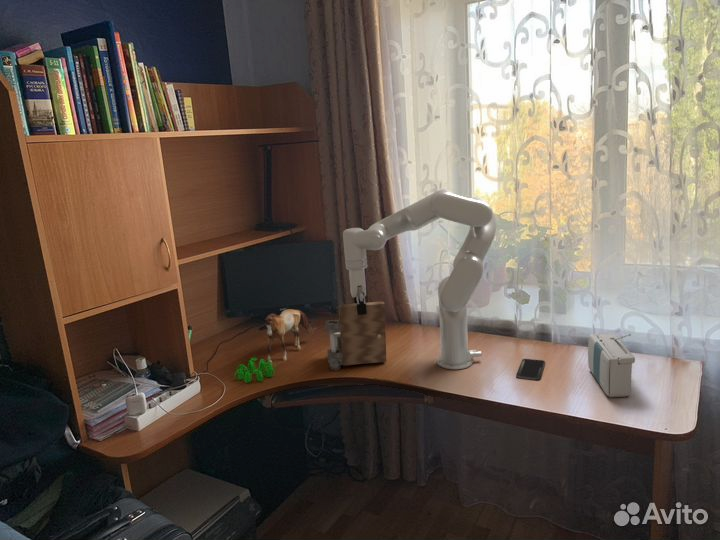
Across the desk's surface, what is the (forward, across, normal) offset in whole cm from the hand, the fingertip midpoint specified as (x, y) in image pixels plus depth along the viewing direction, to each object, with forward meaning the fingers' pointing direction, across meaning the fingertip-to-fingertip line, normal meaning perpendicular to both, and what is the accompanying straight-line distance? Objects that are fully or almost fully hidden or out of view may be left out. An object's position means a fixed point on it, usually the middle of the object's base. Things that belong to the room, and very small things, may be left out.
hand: (360, 310), depth 205 cm
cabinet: (+21, -5, -4) cm, 22 cm away
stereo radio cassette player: (+22, +36, +73) cm, 85 cm away
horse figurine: (+21, -17, -26) cm, 37 cm away
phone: (+22, +20, +54) cm, 62 cm away
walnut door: (+20, 0, -3) cm, 20 cm away
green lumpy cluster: (+21, -2, -40) cm, 45 cm away
